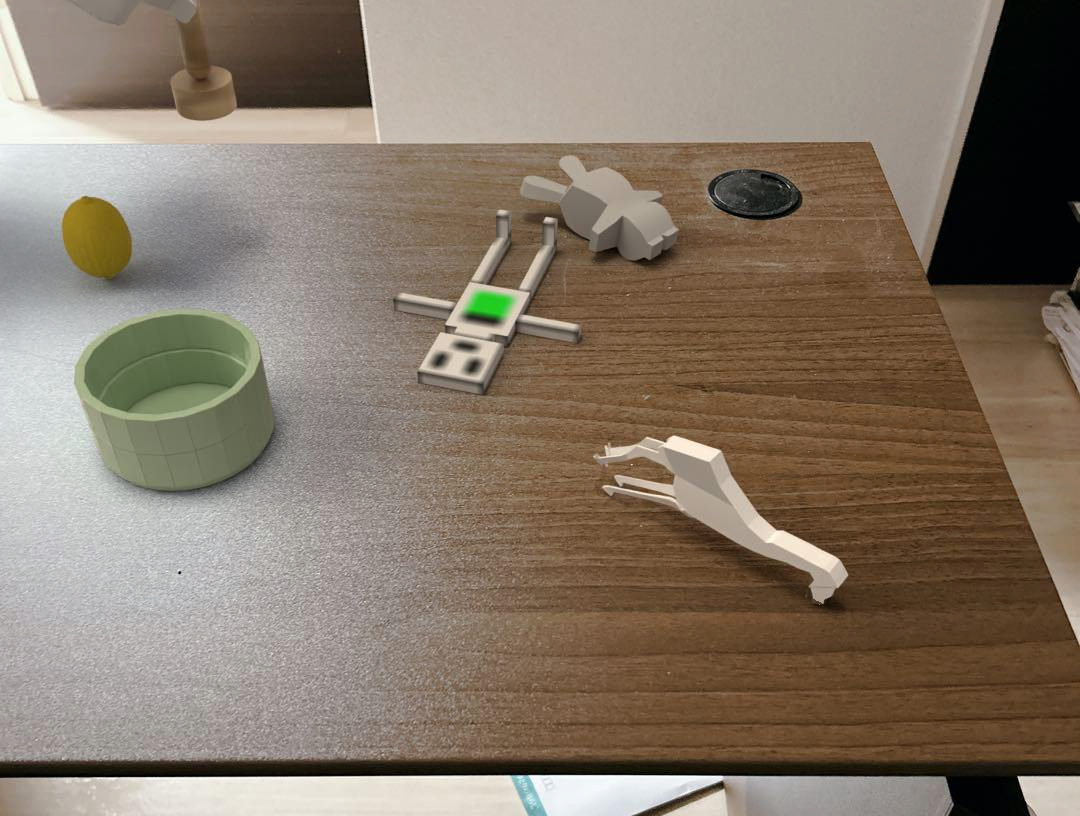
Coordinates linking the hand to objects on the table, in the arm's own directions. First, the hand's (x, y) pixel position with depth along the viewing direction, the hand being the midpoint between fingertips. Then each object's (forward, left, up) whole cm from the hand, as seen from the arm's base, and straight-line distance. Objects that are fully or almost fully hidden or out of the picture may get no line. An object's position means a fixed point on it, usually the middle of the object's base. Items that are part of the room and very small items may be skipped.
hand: (193, 4), depth 90 cm
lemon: (-10, -7, -22) cm, 25 cm away
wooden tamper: (-1, 0, -8) cm, 8 cm away
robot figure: (+24, -9, -22) cm, 34 cm away
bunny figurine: (+33, +5, -22) cm, 40 cm away
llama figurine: (+42, -35, -22) cm, 59 cm away
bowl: (+3, -27, -21) cm, 35 cm away
